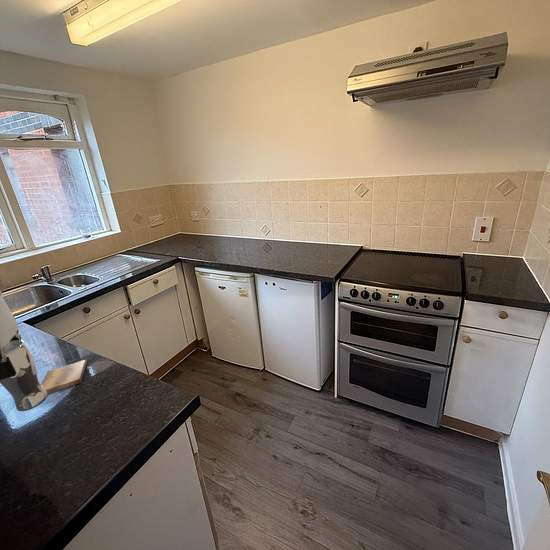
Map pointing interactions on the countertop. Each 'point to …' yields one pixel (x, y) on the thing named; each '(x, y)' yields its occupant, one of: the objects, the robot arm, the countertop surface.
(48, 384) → the board
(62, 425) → the countertop surface
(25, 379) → the beer glass
